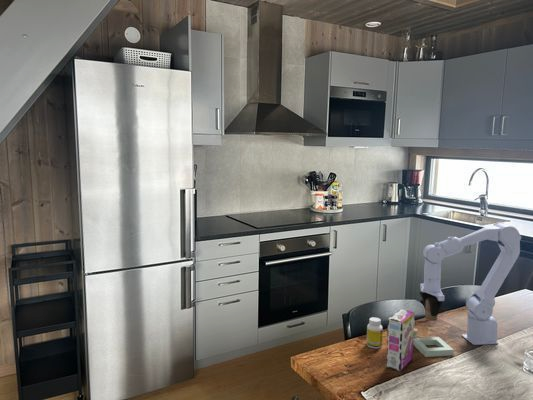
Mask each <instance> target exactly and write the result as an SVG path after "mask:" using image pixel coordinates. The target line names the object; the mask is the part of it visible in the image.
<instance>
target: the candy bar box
mask: <svg viewBox="0 0 533 400" xmlns="http://www.w3.org/2000/svg"><path fill="white" fill-rule="evenodd" d="M414 321H415V312H414V311H411V310H407V309H402V308H401V309H399V310H398V311H396V312H395V313H394V314H392V315H391V316H389V318H387V339H386V340H387V341H386V342H387V344H386V348H387V349H386V368H389V369H391V370H395V371H398V372H401V371H403V369H404V368H405V367H406V366H407V365H408V364H409V363H410V362H411V360H412V359H413V358H414V357H413V355H414V354H413V353H414V345H413V334H414Z"/></svg>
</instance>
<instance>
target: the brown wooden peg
mask: <svg viewBox="0 0 533 400" xmlns="http://www.w3.org/2000/svg"><path fill="white" fill-rule="evenodd" d="M424 312H425V313H424V319H426V320H427V321H433V322H434V321H437V320H438V315H437V316H431V312H430V304H429V301H428V299H426V309H425V308H424Z"/></svg>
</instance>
